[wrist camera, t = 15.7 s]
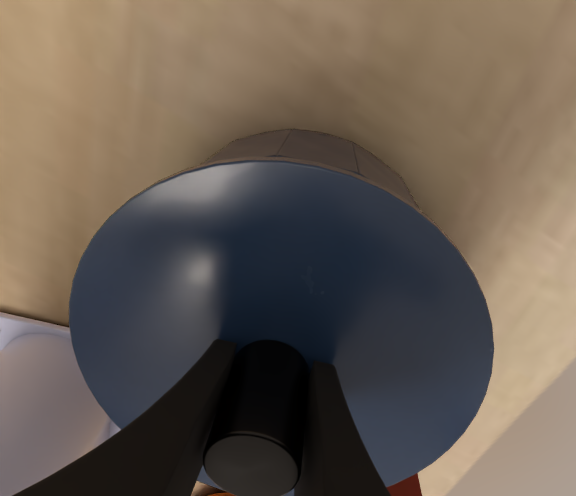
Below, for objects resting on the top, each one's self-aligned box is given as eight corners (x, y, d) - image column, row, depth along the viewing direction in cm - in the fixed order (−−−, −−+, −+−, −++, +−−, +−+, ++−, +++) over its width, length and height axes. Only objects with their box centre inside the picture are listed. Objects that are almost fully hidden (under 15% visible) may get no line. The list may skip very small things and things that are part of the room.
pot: (381, 383, 22) (395, 477, 17) (162, 334, 22) (112, 413, 17) (469, 164, 16) (527, 209, 12) (177, 101, 17) (111, 118, 12)
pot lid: (404, 505, 16) (427, 652, 12) (92, 434, 16) (13, 556, 12) (562, 209, 11) (704, 303, 6) (79, 104, 11) (-77, 130, 7)
